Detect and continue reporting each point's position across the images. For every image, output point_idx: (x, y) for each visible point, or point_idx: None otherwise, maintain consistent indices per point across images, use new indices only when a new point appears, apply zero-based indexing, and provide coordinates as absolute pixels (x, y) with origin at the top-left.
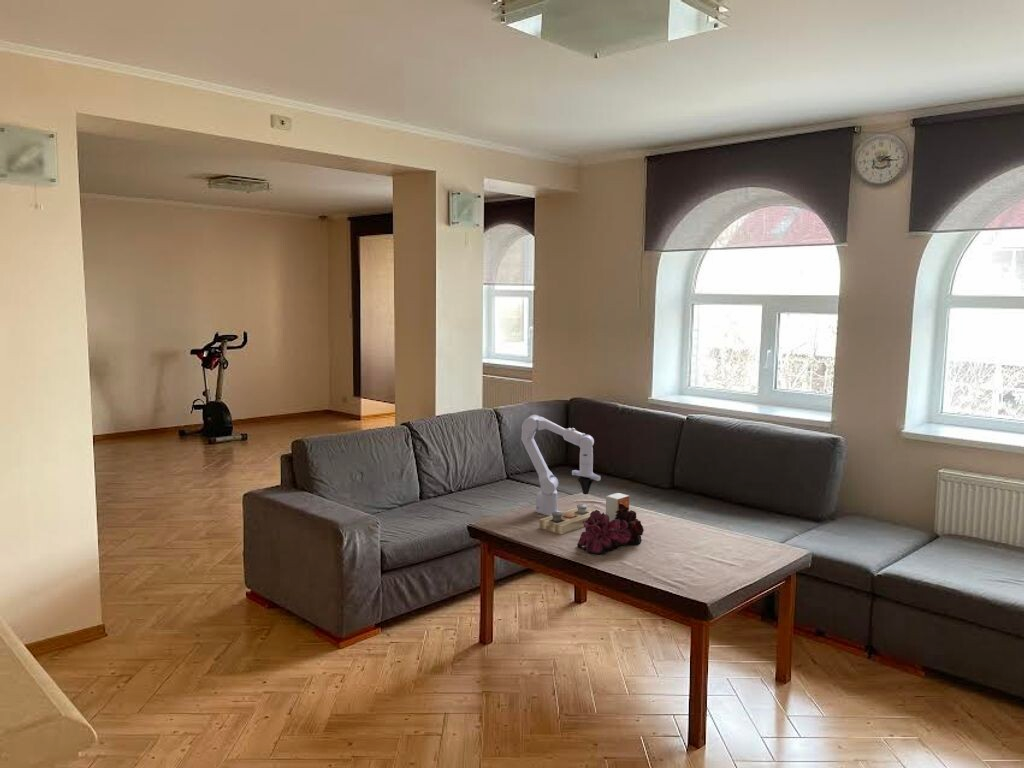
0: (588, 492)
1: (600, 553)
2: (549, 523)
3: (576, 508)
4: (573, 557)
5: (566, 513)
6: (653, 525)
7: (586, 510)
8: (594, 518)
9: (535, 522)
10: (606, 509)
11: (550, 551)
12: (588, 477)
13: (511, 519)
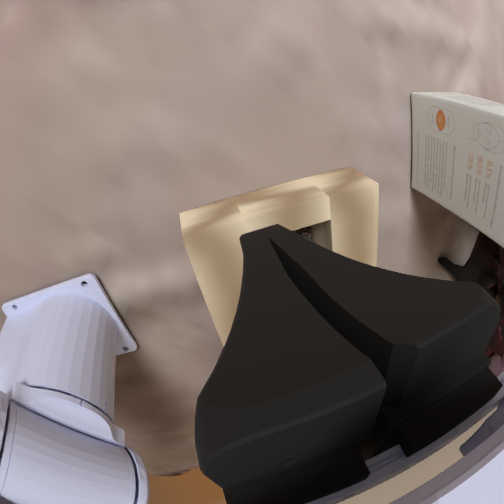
0: (286, 229)
1: None
2: None
3: (201, 255)
4: None
5: None
6: (493, 23)
7: (282, 216)
8: (501, 372)
9: (190, 401)
10: (477, 226)
11: None
12: (449, 437)
13: (127, 434)
